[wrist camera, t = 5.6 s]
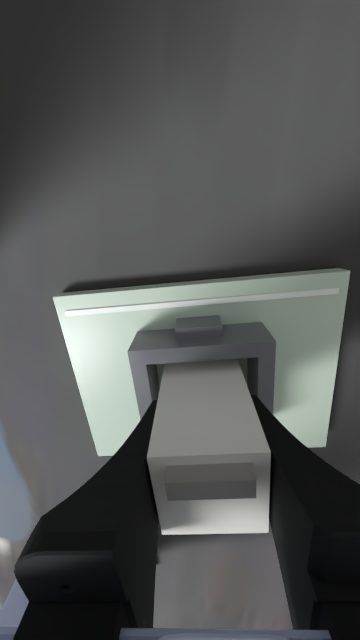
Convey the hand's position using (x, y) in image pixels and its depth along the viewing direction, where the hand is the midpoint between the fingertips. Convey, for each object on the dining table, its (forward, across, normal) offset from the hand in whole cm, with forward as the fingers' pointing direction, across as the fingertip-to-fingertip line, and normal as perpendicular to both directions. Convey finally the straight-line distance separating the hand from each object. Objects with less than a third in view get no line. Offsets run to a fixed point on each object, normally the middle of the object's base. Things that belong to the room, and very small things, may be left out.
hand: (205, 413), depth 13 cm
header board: (+4, 0, 0) cm, 4 cm away
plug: (+2, 0, 0) cm, 2 cm away
